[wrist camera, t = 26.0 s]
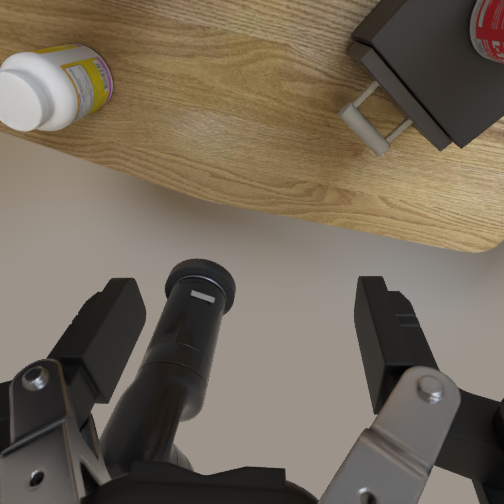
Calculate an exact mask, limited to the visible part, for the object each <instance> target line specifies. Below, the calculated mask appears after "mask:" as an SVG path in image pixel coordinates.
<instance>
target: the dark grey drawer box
mask: <svg viewBox="0 0 504 504" xmlns="http://www.w3.org/2000/svg"><path fill="white" fill-rule="evenodd" d="M476 2H477V0H381V1H380V2H379V3H378V4H377V5H376V7H375V8H374V9H373V10H372V11H371V12H370V13H369V15H368V16H367V17H366V18H365V19H364V20H363V21H362V23H361V24H360V25H359V26H358V27H357V28H356V29H355V31H354V32H353V33H352V34H351V35H352V36H353V37H354V38H355V39H356V41H357V42H360V43H362V44H364V45H367V46H369V47H371V48H373V50H374V51H375V52H376V53H377V54H378V55H379V57H380V58H381V59H382V60H383V61H384V62H385V64H386V65H387V66H388V67H389V68H390V69H391V71H392V72H393V73H394V74H395V75H396V76H397V78H398V79H399V80H400V81H401V82H402V84H403V85H404V86H405V87H406V88H407V89H408V91H409V92H410V93H411V94H412V95H413V96H414V98H415V99H416V100H417V101H418V102H419V103H420V105H421V106H422V107H423V108H424V109H425V111H426V112H427V113H428V114H429V115H430V116H431V118H432V119H433V120H434V121H435V122H436V123H437V125H438V126H439V127H440V128H441V129H442V130H443V132H444V133H445V134H446V135H447V136H448V137H449V139H450V140H451V141H452V142H453V143H455V144H456V145H457V146H458V147H460V148H461V149H462V148H463V147H464V146H466V145H467V144H468V143H470V142H471V141H472V140H473V139H475V138H476V137H477V136H478V135H480V134H481V133H482V132H484V131H485V130H486V129H487V128H489V127H490V126H491V125H492V124H494V123H495V122H496V121H498V120H499V119H500V118H501V117H503V116H504V63H499V62H495V61H492V60H489V59H487V58H484V57H483V56H481V55H480V54H479V53H478V52H477V51H476V49H475V48H474V46H473V44H472V41H471V38H470V20H471V15H472V12H473V9H474V6H475V4H476Z"/></svg>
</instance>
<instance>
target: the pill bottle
mask: <svg viewBox="0 0 504 504" xmlns="http://www.w3.org/2000/svg"><path fill="white" fill-rule="evenodd" d="M470 38H471V41H472V44H473V46H474V48H475V49H476V51H477V52H478V53H479V54H480V55H481V56H483V57H484V58H487V59H489V60H492V61H495V62H499V63H504V0H477V2H476V4H475V6H474V9H473V12H472V15H471V20H470Z"/></svg>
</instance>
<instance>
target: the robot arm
mask: <svg viewBox="0 0 504 504" xmlns="http://www.w3.org/2000/svg"><path fill="white" fill-rule="evenodd" d="M226 300H227V296H226V292H225V290H224V288H223V286H222V285H221V284H220V283H219V282H218V281H216V280H215V279H213V278H211V277H209V276H206V275H203V274H187V275H184V276H182V277H180V278H178V279H177V280H176V281H175V283H174V284H173V287H172V289H171V293H170V295H169V298H168V300H167V302H166V305H165V307H164V309H163V312H162V314H161V317H160V319H159V322H158V324H157V327H156V329H155V331H154V334H153V336H152V338H151V341H150V343H149V346H148V348H147V351H146V353H145V356H144V358H143V360H142V363H141V365H140V368H139V370H138V373H137V375H136V377H135V379H134V381H133V382H132V384H131V385H130V386H129V387H128V388H127V389H126V391H125V392H124V393H123V394H122V396H121V397H120V399H119V401H118V403H117V404H116V406H115V408H114V411H113V413H112V415H111V417H110V419H109V421H108V423H107V425H106V427H105V429H104V431H103V433H102V435H101V437H100V439H98V436H97V431H96V427H95V423H94V419H93V416H92V414H91V409H92V408H93V406H94V404H95V403H101V404H108V403H109V401H110V399H111V397H112V394H113V392H114V390H115V388H116V386H117V383H118V381H119V379H120V377H121V375H122V372H123V370H124V368H125V366H126V364H127V362H128V359H129V357H130V355H131V353H132V351H133V348H134V346H135V344H136V342H137V340H138V338H139V335H140V333H141V331H142V329H143V326H144V324H145V321H146V309H145V305H144V302H143V299H142V297H141V294H140V291H139V288H138V285H137V282H136V281H135V279H134V278H112V279H110V280H109V282H108V283H107V285H106V286H105V288H104V290H103V291H102V292H97V293H96V294H95V295H93V296H92V297H91V298H90V299H88V300H87V301H86V302H85V304H84V305H83V307H82V308H81V309H80V311H79V312H78V315H76V317H75V318H74V319H73V321H72V324H70V325H69V327H68V328H67V330H66V331H65V332H64V334H63V335H62V337H61V338H60V340H59V341H58V342H57V344H56V345H55V347H54V348H53V350H52V351H51V352H50V354H49V355H48V357H47V358H46V359H42V360H38V361H36V362H33V363H31V364H30V365H28V366H26V367H25V368H24V369H22V370H21V371H20V372H19V373H18V374H17V375H16V376H15V377H14V379H13V380H11V381H7V382H4V383H0V504H417V503H418V501H419V499H420V496H421V494H422V492H423V490H424V487H425V485H426V482H427V480H428V478H429V475H430V473H431V470H432V468H433V465H435V466H438V467H441V468H443V469H445V470H448V471H451V472H453V473H456V474H459V475H461V476H464V477H467V478H469V479H472V482H473V485H474V488H475V491H476V494H477V497H478V500H479V503H480V504H504V399H503V400H502V401H501V402H498V401H495V400H491V399H488V398H485V397H481V396H477V395H474V394H471V393H469V392H466V391H463V390H462V389H460V388H458V387H457V386H456V384H455V383H454V382H453V381H452V379H450V378H449V377H448V376H447V375H446V374H444V373H442V372H441V371H440V370H439V368H438V366H437V364H436V361H435V359H434V357H433V354H432V352H431V350H430V347H429V345H428V343H427V340H426V338H425V336H424V333H423V331H422V329H421V328H420V324H419V321H418V319H417V317H416V314H415V312H414V310H413V307H412V305H411V303H410V301H409V300H408V299H406V297H404V295H403V294H402V293H400V292H399V291H388V290H387V287H386V284H385V281H384V279H383V277H382V276H359V278H358V283H357V290H356V299H355V307H354V322H355V328H356V333H357V337H358V342H359V347H360V351H361V356H362V361H363V365H364V370H365V375H366V379H367V384H368V389H369V393H370V398H371V402H372V407H373V412H374V414H377V415H378V416H377V417H376V419H375V420H374V422H373V424H372V425H371V426H370V428H369V429H367V428H366V429H365V430H364V431H363V432H362V433H361V435H360V436H359V437H358V439H357V441H356V443H355V444H354V445H353V447H352V449H351V450H350V452H349V453H348V455H347V457H346V458H345V460H344V462H343V463H342V465H341V466H340V468H339V470H338V471H337V473H336V474H335V476H334V478H333V479H332V481H331V482H330V484H329V485H328V487H327V489H326V490H325V492H324V494H323V495H322V497H321V498H320V500H318V499H317V498H316V497H315V496H313V495H312V494H311V493H309V492H308V491H307V490H305V489H304V488H302V487H300V486H298V485H296V484H294V483H292V482H289V481H287V480H286V475H285V469H284V468H266V467H247V466H246V467H242V468H238V469H233V470H229V471H225V472H220V473H216V474H212V475H201V474H199V473H196V472H194V470H193V467H192V465H191V464H190V462H189V460H188V459H187V458H186V456H185V455H184V454H183V453H182V452H181V451H180V450H179V449H178V448H177V447H176V446H175V444H174V443H173V441H174V437H175V434H176V430H177V427H178V424H179V422H183V421H188V420H190V419H192V418H194V417H195V416H197V415H198V414H199V413H200V411H201V409H202V407H203V404H204V399H205V395H206V389H207V386H208V381H209V376H210V371H211V366H212V361H213V357H214V353H215V347H216V343H217V339H218V334H219V329H220V324H221V320H222V316H223V311H224V307H225V305H226Z"/></svg>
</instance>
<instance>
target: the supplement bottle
mask: <svg viewBox="0 0 504 504" xmlns="http://www.w3.org/2000/svg"><path fill="white" fill-rule="evenodd" d="M112 91H113V80H112V76H111V73H110V70H109V68H108V66H107V65H106V63H105V62H104V60H103V59H102V58H101V57H100V56H99V55H98V54H97V53H96V52H95V51H93V50H92V49H90V48H88V47H86V46H83V45H79V44H69V45H62V46H56V47H51V48H45V49H39V50H33V51H27V52H21V53H17V54H14V55H12V56H10V57H8V58H7V59H6V60H5V61H4V63H3V64H2V66H1V69H0V121H1V122H3V123H4V124H5V125H7V126H9V127H10V128H13V129H15V130H19V131H31V130H34V129H39V130H43V131H57V130H60V129H63V128H65V127H67V126H68V125H70V124H72V123H74V122H76V121H77V120H79V119H81V118H83V117H85V116H87V115H89V114H90V113H92V112H94V111H96V110H98V109H100V108H101V107H103V106H104V105H106V104H107V102H108V101H109V100H110V98H111V95H112Z"/></svg>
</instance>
